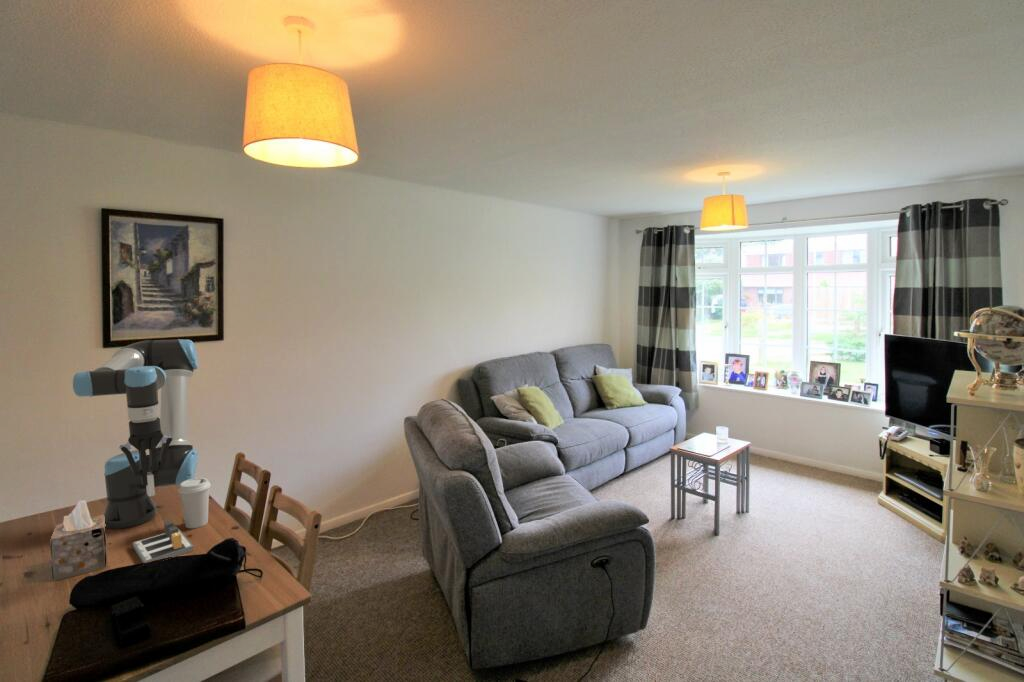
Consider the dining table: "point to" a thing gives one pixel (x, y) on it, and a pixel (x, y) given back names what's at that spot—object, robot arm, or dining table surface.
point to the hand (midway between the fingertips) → (150, 494)
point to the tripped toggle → (176, 540)
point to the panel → (161, 545)
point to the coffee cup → (195, 501)
